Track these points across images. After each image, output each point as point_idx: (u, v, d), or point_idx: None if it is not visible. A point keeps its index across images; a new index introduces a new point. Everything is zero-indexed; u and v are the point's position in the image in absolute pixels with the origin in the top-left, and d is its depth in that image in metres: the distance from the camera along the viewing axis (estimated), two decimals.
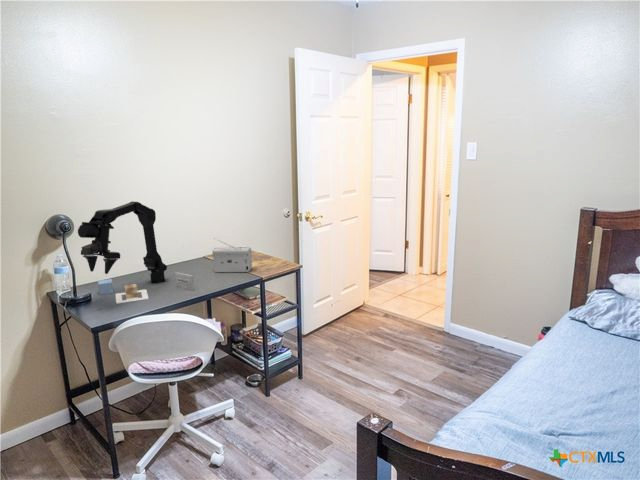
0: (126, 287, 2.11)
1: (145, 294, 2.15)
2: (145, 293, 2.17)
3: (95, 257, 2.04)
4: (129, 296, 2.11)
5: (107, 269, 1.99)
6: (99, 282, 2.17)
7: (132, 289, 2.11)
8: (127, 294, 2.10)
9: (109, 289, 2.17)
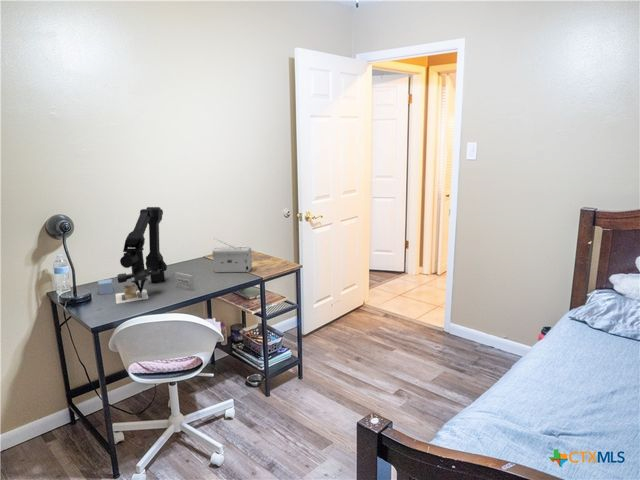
0: (125, 287, 2.11)
1: (145, 294, 2.15)
2: (145, 293, 2.17)
3: None
4: (128, 296, 2.10)
5: (142, 288, 2.15)
6: (99, 282, 2.17)
7: (131, 289, 2.10)
8: (126, 294, 2.10)
9: (109, 289, 2.17)
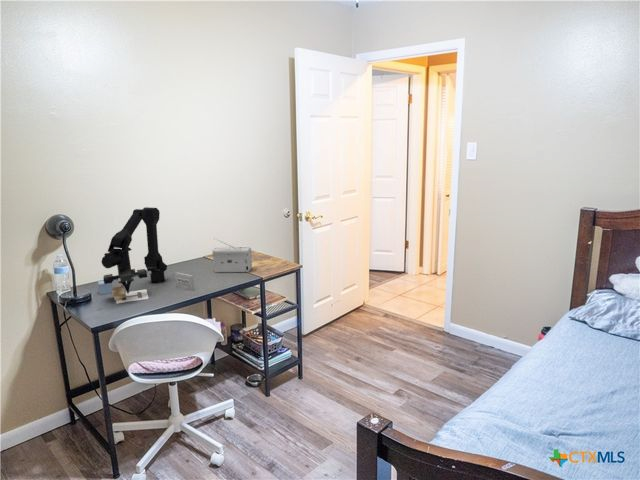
0: (113, 289, 2.09)
1: (145, 294, 2.15)
2: (145, 293, 2.17)
3: None
4: (117, 298, 2.08)
5: None
6: (99, 282, 2.17)
7: (119, 290, 2.08)
8: (115, 296, 2.08)
9: (109, 289, 2.17)
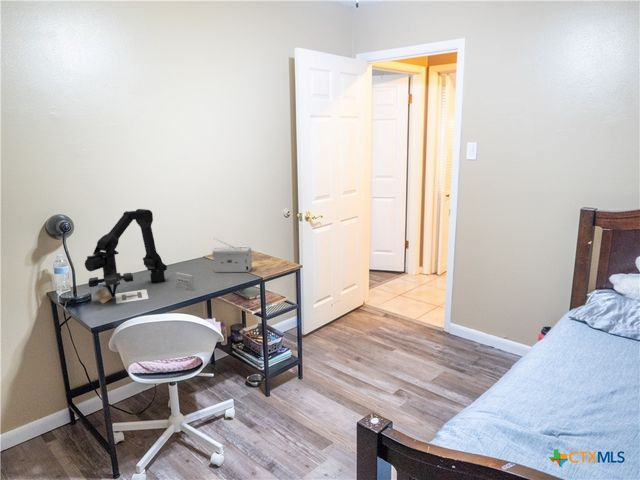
0: (96, 293, 2.05)
1: (145, 294, 2.15)
2: (145, 293, 2.17)
3: None
4: (104, 301, 2.05)
5: None
6: None
7: (103, 293, 2.04)
8: (101, 300, 2.05)
9: None
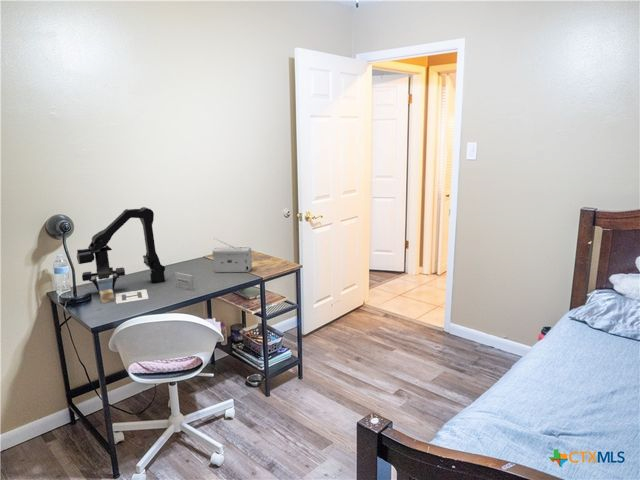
0: (102, 292, 2.06)
1: (145, 294, 2.15)
2: (145, 293, 2.17)
3: (96, 278, 2.18)
4: (105, 302, 2.06)
5: (114, 285, 2.20)
6: (99, 282, 2.17)
7: (108, 294, 2.06)
8: (103, 300, 2.05)
9: None
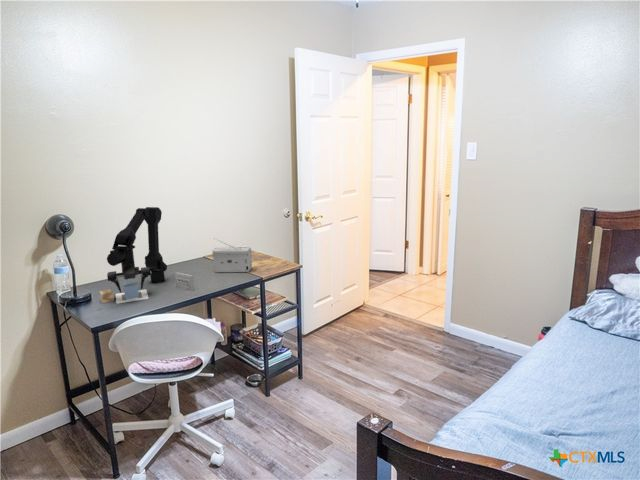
0: (102, 292, 2.06)
1: (145, 294, 2.15)
2: (145, 293, 2.17)
3: (117, 278, 2.11)
4: (105, 302, 2.06)
5: (142, 285, 2.14)
6: (124, 285, 2.11)
7: (108, 294, 2.06)
8: (103, 300, 2.05)
9: (134, 292, 2.11)
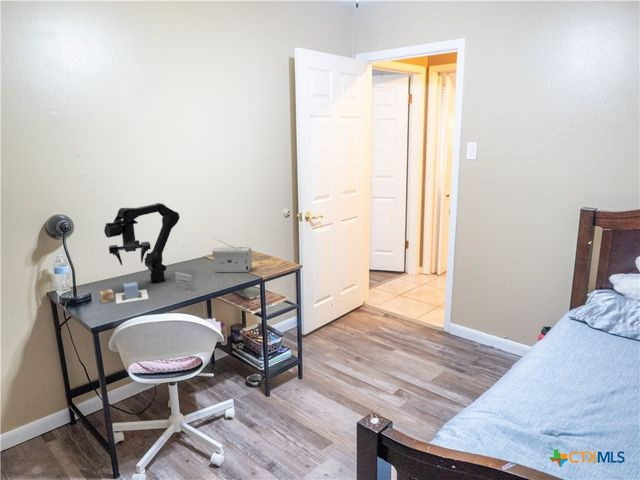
0: (102, 292, 2.06)
1: (145, 294, 2.15)
2: (145, 293, 2.17)
3: None
4: (105, 302, 2.06)
5: None
6: (124, 285, 2.11)
7: (108, 294, 2.06)
8: (103, 300, 2.05)
9: (134, 292, 2.11)
